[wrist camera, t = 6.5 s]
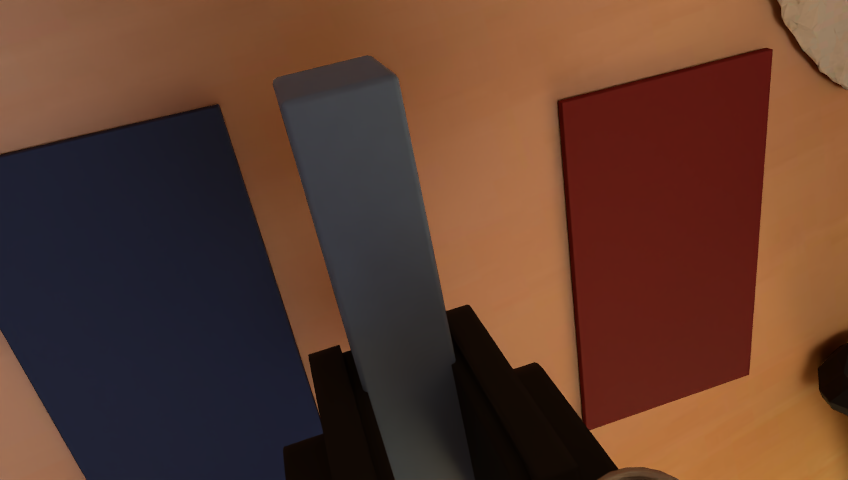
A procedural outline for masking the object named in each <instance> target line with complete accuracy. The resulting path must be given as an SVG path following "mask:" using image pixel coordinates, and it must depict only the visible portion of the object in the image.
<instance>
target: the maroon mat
mask: <svg viewBox="0 0 848 480" xmlns="http://www.w3.org/2000/svg"><path fill="white" fill-rule="evenodd" d="M772 51H773V50H772V49H769V48H764V49H760V50H756V51H753V52H749V53H745V54H741V55H737V56H733V57H729V58H725V59H721V60H717V61H713V62H709V63H705V64H701V65H697V66H694V67H690V68H686V69H682V70H678V71H674V72H670V73H666V74H662V75H658V76H654V77H650V78H646V79H642V80H638V81H635V82H631V83H627V84H623V85H619V86H615V87H611V88H607V89H603V90H599V91H595V92H591V93H587V94H583V95H579V96H576V97H572V98H568V99H564V100H560V101H558V109H559V121H560V134H561V147H562V159H563V172H564V185H565V197H566V210H567V223H568V235H569V248H570V261H571V274H572V286H573V299H574V312H575V324H576V337H577V350H578V362H579V375H580V388H581V400H582V413H583V423H584V424H585V425H586V427H587V428H588V429H589V430H592V429H594V428H597V427H600V426H603V425H606V424H609V423H612V422H615V421H617V420H620V419H623V418H626V417H629V416H632V415H635V414H637V413H640V412H643V411H646V410H649V409H652V408H655V407H657V406H660V405H663V404H666V403H669V402H672V401H675V400H678V399H680V398H683V397H686V396H689V395H692V394H695V393H698V392H700V391H703V390H706V389H709V388H712V387H715V386H718V385H721V384H723V383H726V382H729V381H732V380H735V379H738V378H741V377H743V376H746V375H749V369H750V355H751V341H752V327H753V313H754V300H755V286H756V272H757V258H758V244H759V231H760V217H761V203H762V189H763V175H764V162H765V148H766V134H767V120H768V106H769V93H770V79H771V65H772Z"/></svg>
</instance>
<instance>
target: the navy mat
mask: <svg viewBox="0 0 848 480" xmlns="http://www.w3.org/2000/svg"><path fill="white" fill-rule="evenodd" d="M0 330H1V331H2V333H3V335H4V337H5V338H6V340H7V342H8V344H9V345H10V347H11V349H12V351H13V352H14V354H15V356H16V358H17V359H18V361H19V363H20V365H21V366H22V368H23V370H24V372H25V373H26V375H27V377H28V379H29V380H30V382H31V384H32V386H33V387H34V389H35V391H36V392H37V394H38V396H39V398H40V399H41V401H42V403H43V405H44V406H45V408H46V410H47V412H48V413H49V415H50V417H51V419H52V420H53V422H54V424H55V426H56V427H57V429H58V431H59V433H60V434H61V436H62V438H63V440H64V441H65V443H66V445H67V447H68V448H69V450H70V452H71V454H72V455H73V457H74V459H75V461H76V462H77V464H78V466H79V468H80V469H81V471H82V473H83V475H84V476H85V478H86V480H286V478H285V469H284V459H283V448H284V447H285V446H288V445H291V444H293V443H296V442H299V441H302V440H305V439H308V438H311V437H314V436H317V435H320V434H323V430H322V424H321V419H320V416H319V413H318V410H317V407H316V404H315V400H314V397H313V394H312V391H311V388H310V385H309V382H308V379H307V376H306V373H305V369H304V366H303V363H302V360H301V357H300V354H299V351H298V348H297V345H296V342H295V338H294V335H293V332H292V329H291V326H290V323H289V320H288V317H287V314H286V311H285V307H284V304H283V301H282V298H281V295H280V292H279V289H278V286H277V283H276V280H275V277H274V273H273V270H272V267H271V264H270V261H269V258H268V255H267V252H266V249H265V246H264V242H263V239H262V236H261V233H260V230H259V227H258V224H257V221H256V218H255V215H254V211H253V208H252V205H251V202H250V199H249V196H248V193H247V190H246V187H245V184H244V180H243V177H242V174H241V171H240V168H239V165H238V162H237V159H236V156H235V153H234V149H233V146H232V143H231V140H230V137H229V134H228V131H227V128H226V125H225V122H224V119H223V115H222V112H221V109H220V106H219V104H216V105H212V106H207V107H203V108H199V109H194V110H190V111H186V112H182V113H177V114H173V115H169V116H164V117H160V118H156V119H152V120H147V121H143V122H139V123H134V124H130V125H126V126H122V127H117V128H113V129H109V130H104V131H100V132H96V133H92V134H87V135H83V136H79V137H74V138H70V139H66V140H61V141H57V142H53V143H49V144H44V145H40V146H36V147H31V148H27V149H23V150H19V151H14V152H10V153H6V154H1V155H0Z"/></svg>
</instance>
